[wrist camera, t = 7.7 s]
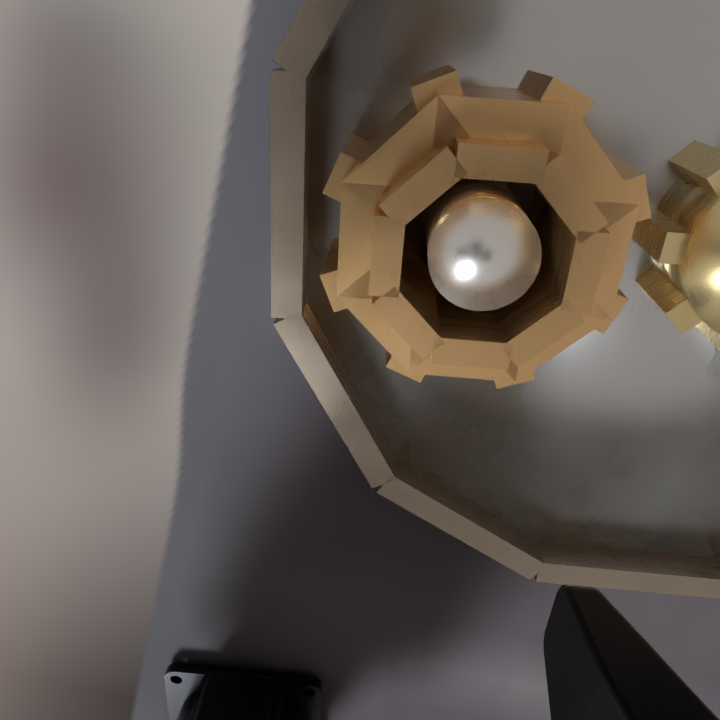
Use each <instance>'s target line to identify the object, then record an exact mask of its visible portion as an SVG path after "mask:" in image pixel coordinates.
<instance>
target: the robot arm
mask: <svg viewBox="0 0 720 720" xmlns="http://www.w3.org/2000/svg"><path fill="white" fill-rule="evenodd" d="M544 658H545V667H546V676H547V685H548V694H549V703H550V713H551V720H719V719H718V718H717V717H716V716H715V715H714V714H713V712H712V711H711V710H710V709H709V708H708V707H707V706H706V705H705V704H704V703H703V702H702V701H701V700H700V698H699V697H698V696H697V695H696V694H695V693H694V692H693V691H692V690H691V689H690V688H689V687H688V686H687V685H686V683H685V682H684V681H683V680H682V679H681V678H680V677H679V676H678V675H677V674H676V673H675V672H674V671H673V669H672V668H671V667H670V666H669V665H668V664H667V663H666V662H665V661H664V660H663V659H662V658H661V657H660V655H659V654H658V653H657V652H656V651H655V650H654V649H653V648H652V647H651V646H650V645H649V644H648V643H647V641H646V640H645V639H644V638H643V637H642V636H641V635H640V634H639V633H638V632H637V631H636V630H635V629H634V627H633V626H632V625H631V624H630V623H629V622H628V621H627V620H626V619H625V618H624V617H623V616H622V615H621V613H620V612H619V611H618V610H617V609H616V608H615V607H614V606H613V605H612V604H611V603H610V602H609V601H608V600H607V598H606V597H605V596H604V595H603V594H602V593H601V592H600V591H598V590H597V589H595V588H593V587H587V586H578V585H569V584H566V585H562V586H561V587H560V588H559V590H558V592H557V594H556V597H555V600H554V604H553V607H552V610H551V613H550V617H549V620H548V623H547V626H546V630H545V634H544ZM164 681H165V689H166V697H167V705H168V713H169V720H321V703H322V682H321V681H320V680H319V679H318V678H316V677H313V676H306V675H295V674H285V673H275V672H265V671H254V670H244V669H234V668H223V667H213V666H203V665H193V664H182V663H173V664H171V665H169V666H168V668H167V671H166V673H165V677H164Z"/></svg>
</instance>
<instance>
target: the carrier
mask: <svg viewBox="0 0 720 720" xmlns="http://www.w3.org/2000/svg"><path fill="white" fill-rule="evenodd" d="M272 61H273V62H275V63H276V64H278V65H279V66H280V67H282V68H277V69H273V70H270V191H271V317H272V318H276V320H275V322H274V324H273V325H274V326H275V328H276V330H277V331H278V333H279V335H280V336H281V338H282V340H283V341H284V343H285V345H286V346H287V348H288V350H289V351H290V353H291V355H292V356H293V358H294V360H295V361H296V363H297V365H298V366H299V368H300V370H301V371H302V373H303V375H304V376H305V378H306V380H307V381H308V383H309V385H310V386H311V388H312V389H313V391H314V393H315V394H316V396H317V398H318V399H319V401H320V403H321V404H322V406H323V408H324V409H325V411H326V413H327V414H328V416H329V418H330V419H331V421H332V423H333V424H334V426H335V428H336V429H337V431H338V433H339V434H340V436H341V438H342V439H343V441H344V443H345V444H346V446H347V448H348V449H349V451H350V453H351V454H352V456H353V458H354V459H355V461H356V463H357V464H358V466H359V468H360V469H361V471H362V473H363V474H364V476H365V478H366V479H367V481H368V483H369V484H370V486H371V488H375V487H377V493H378V494H380V495H381V496H383V497H385V498H387V499H388V500H390V501H392V502H394V503H396V504H397V505H399V506H401V507H403V508H404V509H406V510H408V511H410V512H411V513H413V514H415V515H417V516H418V517H420V518H422V519H424V520H425V521H427V522H429V523H431V524H432V525H434V526H436V527H438V528H439V529H441V530H443V531H445V532H446V533H448V534H450V535H452V536H453V537H455V538H457V539H459V540H461V541H462V542H464V543H466V544H468V545H469V546H471V547H473V548H475V549H476V550H478V551H480V552H482V553H483V554H485V555H487V556H489V557H490V558H492V559H494V560H496V561H497V562H499V563H501V564H503V565H504V566H506V567H508V568H510V569H511V570H513V571H515V572H517V573H518V574H520V575H522V576H524V577H525V578H527V579H529V580H531V579H532V578H533V577H534V576H535V580H536V582H543V583H554V584H565V585H566V584H569V585H578V586H587V587H598V588H609V589H620V590H631V591H641V592H652V593H663V594H674V595H685V596H696V597H707V598H718V599H720V0H304V2H303V3H302V5H301V7H300V9H299V11H298V13H297V15H296V17H295V18H294V20H293V22H292V24H291V26H290V28H289V30H288V32H287V33H286V35H285V37H284V39H283V41H282V43H281V45H280V47H279V49H278V50H277V52H276V54H275V56H274V58H273V60H272ZM445 65H450V66H451V67H453V68H454V69H456V70H457V72H458V76H459V80H460V84H462V85H476V86H491V87H505V88H518V86H519V84H520V82H521V81H522V79H523V77H524V75H525V73H526V72H527V70H530V71H534V72H538V73H541V74H545V75H548V76H552V77H554V78H556V79H558V80H560V81H562V82H563V83H565V84H567V85H569V86H570V87H572V88H574V89H576V90H578V91H579V92H581V93H583V94H585V95H586V96H588V97H590V98H592V99H593V100H595V101H594V102H593V104H592V106H591V107H590V109H589V110H588V112H587V114H586V115H585V117H584V119H583V120H582V121H583V123H584V124H585V126H586V127H587V129H588V130H589V131H590V133H591V134H592V136H593V137H594V139H595V140H596V141H597V143H598V144H599V146H600V147H601V149H602V150H603V151H606V152H608V153H610V154H611V155H613V156H615V157H616V158H618V159H620V160H622V161H623V162H625V163H627V164H629V165H630V166H632V167H634V168H635V169H637V170H639V171H641V172H642V173H644V174H645V177H646V184H647V191H648V198H649V205H650V212H651V218H649V219H645V220H642V221H639V222H636V223H635V227H634V231H633V235H632V238H631V242H630V246H629V250H628V254H627V258H626V261H625V265H624V269H623V273H622V277H621V280H620V284H619V289H620V290H621V291H622V292H623V294H624V295H625V296H626V297H627V298H628V299H629V301H628V302H627V303H626V305H625V306H624V307H623V309H622V310H621V311H620V313H619V314H618V315H617V317H616V318H615V319H614V321H613V322H612V323H611V325H610V326H609V327H608V329H607V330H606V331H605V333H604V334H602V333H600V332H598V331H596V330H593V331H591V332H590V333H588V334H587V335H585V336H584V337H582V338H581V339H579V340H578V341H576V342H575V343H573V344H572V345H570V346H569V347H567V348H566V349H564V350H563V351H561V352H560V353H558V354H557V355H555V356H554V357H552V358H551V359H549V360H548V361H546V362H545V363H543V364H542V365H540V366H539V367H537V368H536V369H535V370H533V372H534V376H535V379H534V380H530V381H526V382H523V383H519V384H515V385H511V386H507V387H503V388H499V389H496V385H495V382H494V380H484V379H472V378H460V377H448V376H436V375H425V376H424V378H423V379H422V381H421V382H417V381H415V380H413V379H411V378H409V377H407V376H404V375H402V374H400V373H398V372H396V371H394V370H392V369H389V368H387V367H386V355H387V350H386V349H385V348H384V347H383V346H382V345H381V344H380V343H379V341H378V340H377V339H376V338H375V337H374V336H373V335H372V334H371V333H370V332H369V331H368V330H367V329H366V328H365V327H364V326H363V324H362V323H361V322H360V321H359V320H358V319H357V318H356V317H355V316H354V315H353V314H352V313H351V312H350V311H349V310H348V309H344V310H340V311H337V312H334V311H333V309H332V306H331V304H330V301H329V299H328V296H327V293H326V291H325V288H324V286H323V283H322V281H321V278H320V273H321V270H322V268H323V265H324V262H325V259H326V256H327V254H328V251H329V248H330V245H331V243H332V240H333V239H334V238H337V237H339V228H340V206H341V202H339V201H337V200H335V199H333V198H331V197H329V196H327V195H325V194H323V193H322V192H323V190H324V188H325V186H326V184H327V181H328V179H329V177H330V175H331V173H332V170H333V168H334V166H335V164H336V162H337V159H338V157H339V155H340V153H341V151H342V149H343V147H344V146H345V144H346V142H347V140H348V138H349V137H350V135H351V133H353V134H355V135H357V136H359V137H361V138H363V139H365V140H367V141H368V140H369V139H370V138H371V137H373V136H374V135H375V134H376V133H377V132H378V131H379V130H380V129H381V128H382V127H383V126H385V125H386V124H387V123H388V122H389V121H390V120H391V119H392V118H393V117H394V116H395V115H396V114H398V113H399V112H400V111H401V110H402V109H403V108H404V107H405V106H406V105H407V104H408V103H410V102H411V101H412V100H413V99H414V98H413V95H412V91H411V88H410V78H413V77H415V76H418V75H421V74H423V73H426V72H429V71H431V70H434V69H437V68H440V67H442V66H445ZM534 191H535V188H534V187H533V186H532V184H531V183H520V182H507V181H493V180H479V179H466V178H461V179H460V180H459V181H458V182H457V183H455V184H454V185H453V186H452V187H451V188H449V189H448V190H447V191H446V192H445V193H443V194H442V195H441V196H440V197H439V198H437V199H436V200H435V201H434V202H433V203H431V204H430V205H429V206H428V207H427V208H425V209H424V210H423V211H422V212H421V213H419V214H418V215H417V216H416V217H415V218H413V219H412V220H411V221H410V222H409V223H407V224H406V225H405V233H404V236H405V237H406V238H407V240H408V241H409V242H410V243H411V244H412V245H413V246H414V248H415V249H416V250H417V251H418V252H419V253H420V255H421V256H422V257H423V258H424V259H425V260H426V262H427V263H428V267H429V272H430V276H431V279H432V281H433V283H434V285H435V287H436V288H437V290H438V291H439V292H440V293H441V294H442V295H443V296H444V297H445V298H446V299H447V300H448V301H450V302H451V303H453V304H455V305H456V306H459V307H461V308H464V309H468V310H474V311H489V310H494V309H498V308H501V307H504V306H506V305H508V304H511V303H512V302H514V301H515V300H517V299H518V298H520V297H521V296H522V295H523V294H524V293H525V292H526V291H527V290H528V289H529V288H530V286H531V285H532V284H533V282H534V280H535V278H536V276H537V274H538V272H539V269H540V265H541V258H542V248H541V242H540V238H539V235H538V233H537V231H536V229H535V227H534V226H533V224H532V223H531V221H530V220H529V218H530V213H531V207H532V202H533V196H534Z"/></svg>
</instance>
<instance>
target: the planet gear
mask: <svg viewBox="0 0 720 720" xmlns="http://www.w3.org/2000/svg"><path fill="white" fill-rule="evenodd" d="M410 88H411V91H412V95H413V98H414V99H413V100H412V101H411V102H410V103H408V104H407V105H406V106H405V107H404V108H403V109H402V110H401V111H400V112H399V113H398V114H396V115H395V116H394V117H393V118H392V119H391V120H390V121H389V122H388V123H387V124H386V125H385V126H383V127H382V128H381V129H380V130H379V131H378V132H377V133H376V134H375V135H374V136H373V137H371V138H370V139H369V140H368V141H367V140H365V139H363V138H361V137H359V136H357V135H355V134H353V133H351V135H350V137H349V138H348V140H347V142H346V144H345V146H344V147H343V149H342V151H341V153H340V155H339V157H338V159H337V162H336V164H335V166H334V168H333V170H332V173H331V175H330V177H329V179H328V181H327V184H326V186H325V188H324V190H323V192H322V193H323V194H325V195H327V196H329V197H331V198H333V199H335V200H337V201H339V202H341V206H340V228H339V237H337V238H334V239H333V240H332V243H331V245H330V248H329V251H328V254H327V256H326V259H325V262H324V265H323V268H322V270H321V273H320V278H321V281H322V283H323V286H324V288H325V291H326V293H327V296H328V299H329V301H330V304H331V306H332V309H333V311H334V312H337V311H340V310H344V309H348V310H349V311H350V312H351V313H352V314H353V315H354V316H355V317H356V318H357V319H358V320H359V321H360V322H361V323H362V324H363V326H364V327H365V328H366V329H367V330H368V331H369V332H370V333H371V334H372V335H373V336H374V337H375V338H376V339H377V340H378V341H379V343H380V344H381V345H382V346H383V347H384V348H385V349H386V350H387V355H386V367H387V368H389V369H392V370H394V371H396V372H398V373H400V374H402V375H404V376H407V377H409V378H411V379H413V380H415V381H417V382H421V381H422V379H423V378H424V376H425V375H436V376H448V377H460V378H472V379H484V380H494V382H495V385H496V389H499V388H503V387H507V386H511V385H515V384H519V383H523V382H526V381H530V380H534V379H535V376H534V372H533V370H535V369H536V368H537V367H539V366H540V365H542V364H543V363H545V362H546V361H548V360H549V359H551V358H552V357H554V356H555V355H557V354H558V353H560V352H561V351H563V350H564V349H566V348H567V347H569V346H570V345H572V344H573V343H575V342H576V341H578V340H579V339H581V338H582V337H584V336H585V335H587V334H588V333H590V332H591V331H593V330H596V331H598V332H600V333H602V334H604V333H605V331H606V330H607V329H608V327H609V326H610V325H611V323H612V322H613V321H614V319H615V318H616V317H617V315H618V314H619V313H620V311H621V310H622V309H623V307H624V306H625V305H626V303H627V302H628V301H629V299H628V298H627V297H626V296H625V295H624V294H623V292H622V291H621V290H620V289H619V284H620V280H621V277H622V273H623V269H624V265H625V261H626V258H627V254H628V250H629V246H630V242H631V238H632V235H633V231H634V227H635V223H636V222H639V221H642V220H645V219H649V218H651V212H650V205H649V198H648V191H647V184H646V177H645V174H644V173H642V172H641V171H639V170H637V169H635V168H634V167H632V166H630V165H629V164H627V163H625V162H623V161H622V160H620V159H618V158H616V157H615V156H613V155H611V154H610V153H608V152H606V151H603V150H602V149H601V147H600V146H599V144H598V143H597V141H596V140H595V139H594V137H593V136H592V134H591V133H590V131H589V130H588V129H587V127H586V126H585V124H584V123H583V121H582V120H583V119H584V117H585V115H586V114H587V112H588V110H589V109H590V107H591V106H592V104H593V102H594V101H595V100H593V99H592V98H590V97H588V96H586V95H585V94H583V93H581V92H579V91H578V90H576V89H574V88H572V87H570V86H569V85H567V84H565V83H563V82H562V81H560V80H558V79H556V78H554V77H552V76H548V75H545V74H541V73H538V72H534V71H530V70H527V72H526V73H525V75H524V77H523V79H522V81H521V82H520V84H519V86H518V88H505V87H491V86H476V85H462V84H460V80H459V76H458V72H457V70H456V69H454V68H453V67H451V66H450V65H445V66H442V67H440V68H437V69H434V70H431V71H429V72H426V73H423V74H421V75H418V76H415V77H413V78H410ZM461 178H466V179H479V180H493V181H507V182H520V183H531V184H532V186H533V187H534V188H535V191H534V196H533V202H532V207H531V213H530V218H529V220H530V221H531V223H532V224H533V226H534V227H535V229H536V231H537V233H538V235H539V238H540V242H541V248H542V258H541V265H540V269H539V272H538V274H537V276H536V278H535V280H534V282H533V284H532V285H531V286H530V288H529V289H528V290H527V291H526V292H525V293H524V294H523V295H522V296H521V297H520V298H518V299H517V300H515V301H514V302H512V303H511V304H508V305H506V306H504V307H501V308H498V309H494V310H489V311H474V310H468V309H464V308H461V307H459V306H456V305H455V304H453V303H451V302H450V301H448V300H447V299H446V298H445V297H444V296H443V295H442V294H441V293H440V292H439V291H438V290H437V288H436V287H435V285H434V283H433V281H432V279H431V276H430V272H429V267H428V263H427V262H426V260H425V259H424V258H423V257H422V256H421V255H420V253H419V252H418V251H417V250H416V249H415V248H414V246H413V245H412V244H411V243H410V242H409V241H408V240H407V238H406V237H405V236H404V233H405V225H406V224H407V223H409V222H410V221H411V220H412V219H413V218H415V217H416V216H417V215H418V214H419V213H421V212H422V211H423V210H424V209H425V208H427V207H428V206H429V205H430V204H431V203H433V202H434V201H435V200H436V199H437V198H439V197H440V196H441V195H442V194H443V193H445V192H446V191H447V190H448V189H449V188H451V187H452V186H453V185H454V184H455V183H457V182H458V181H459V180H460V179H461Z"/></svg>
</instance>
